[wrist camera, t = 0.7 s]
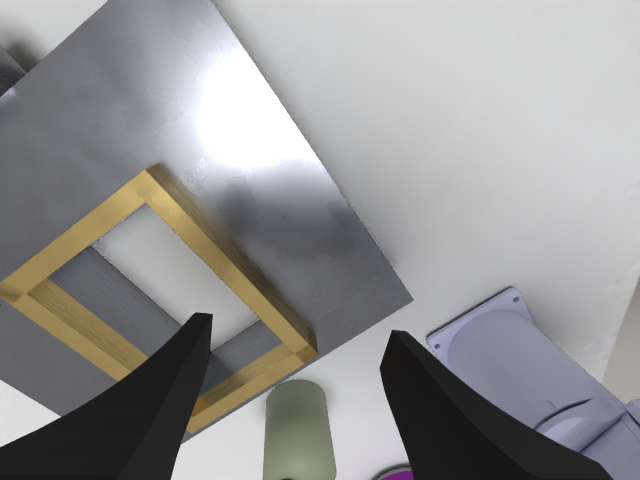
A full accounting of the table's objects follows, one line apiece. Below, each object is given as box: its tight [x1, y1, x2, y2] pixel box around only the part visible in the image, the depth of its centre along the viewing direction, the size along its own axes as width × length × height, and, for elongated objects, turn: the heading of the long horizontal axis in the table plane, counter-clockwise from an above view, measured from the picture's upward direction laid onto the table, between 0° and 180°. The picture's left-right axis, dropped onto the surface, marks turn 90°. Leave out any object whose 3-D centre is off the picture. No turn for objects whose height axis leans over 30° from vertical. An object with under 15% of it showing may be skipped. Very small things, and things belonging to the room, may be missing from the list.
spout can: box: [263, 380, 336, 480], centre depth 23 cm, size 5×5×8 cm
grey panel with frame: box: [0, 0, 414, 444], centre depth 18 cm, size 23×22×6 cm
